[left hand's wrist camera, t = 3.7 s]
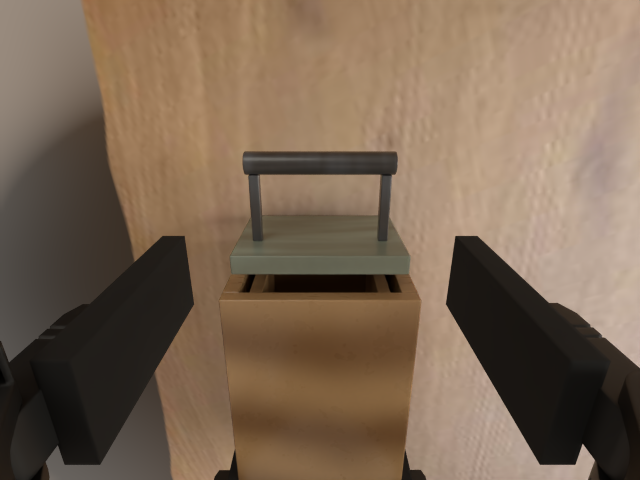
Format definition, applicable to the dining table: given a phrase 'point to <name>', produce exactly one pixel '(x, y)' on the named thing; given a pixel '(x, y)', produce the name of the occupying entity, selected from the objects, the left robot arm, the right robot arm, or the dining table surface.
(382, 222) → the drawer
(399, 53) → the dining table surface
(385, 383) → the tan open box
